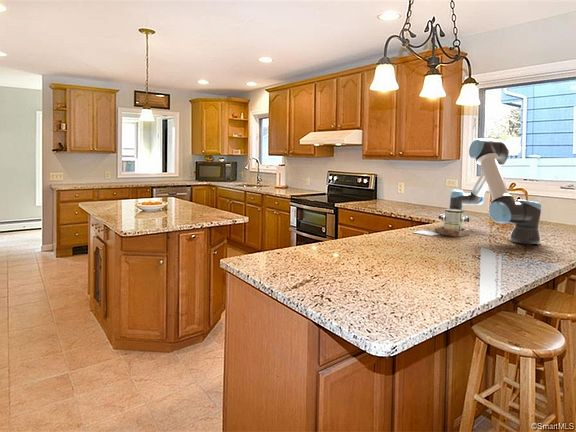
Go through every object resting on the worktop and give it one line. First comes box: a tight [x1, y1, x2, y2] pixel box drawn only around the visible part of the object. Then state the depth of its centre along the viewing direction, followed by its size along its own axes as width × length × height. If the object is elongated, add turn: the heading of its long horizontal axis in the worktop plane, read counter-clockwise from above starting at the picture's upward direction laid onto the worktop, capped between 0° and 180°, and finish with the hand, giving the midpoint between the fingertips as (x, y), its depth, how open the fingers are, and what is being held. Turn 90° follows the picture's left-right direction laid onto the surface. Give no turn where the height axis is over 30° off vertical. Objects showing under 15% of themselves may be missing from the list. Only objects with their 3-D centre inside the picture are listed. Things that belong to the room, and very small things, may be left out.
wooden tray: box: [434, 226, 471, 238], centre depth 249 cm, size 14×14×3 cm
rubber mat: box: [412, 230, 442, 237], centre depth 246 cm, size 12×12×1 cm
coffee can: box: [443, 208, 464, 231], centre depth 248 cm, size 10×10×14 cm
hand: (453, 219), depth 244 cm, fingers closed on coffee can, 10 cm apart
